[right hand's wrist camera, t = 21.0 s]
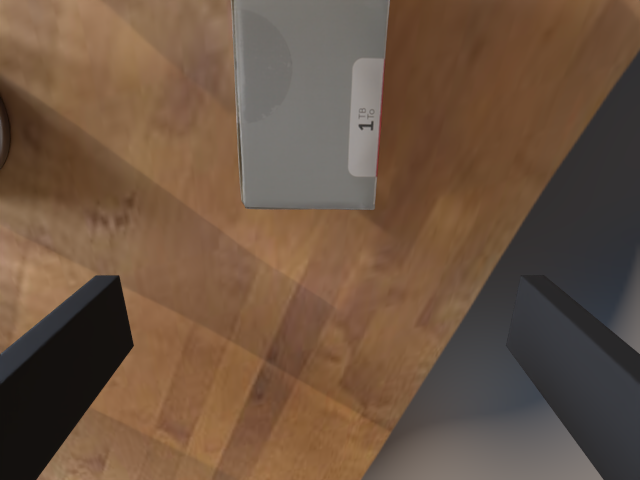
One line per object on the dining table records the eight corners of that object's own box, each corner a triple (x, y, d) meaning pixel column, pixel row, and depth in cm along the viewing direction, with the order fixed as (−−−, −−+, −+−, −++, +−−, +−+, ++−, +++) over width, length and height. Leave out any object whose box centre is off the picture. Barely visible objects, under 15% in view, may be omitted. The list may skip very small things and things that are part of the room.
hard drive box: (349, 158, 40) (374, 217, 21) (274, 156, 40) (235, 214, 21) (358, -18, 34) (403, -146, 16) (272, -21, 34) (215, -153, 16)
